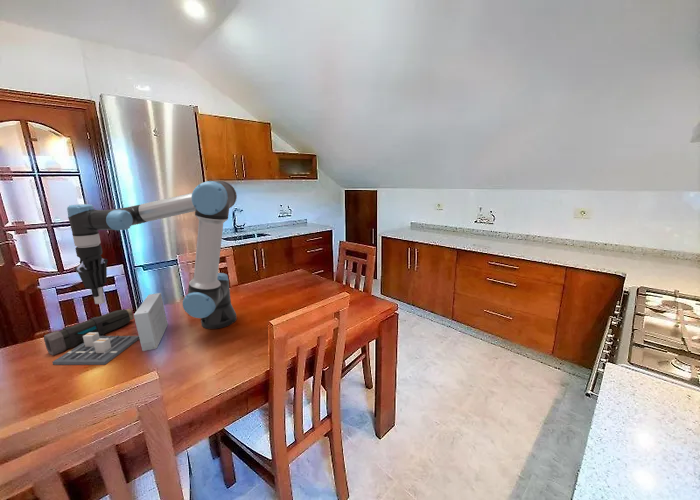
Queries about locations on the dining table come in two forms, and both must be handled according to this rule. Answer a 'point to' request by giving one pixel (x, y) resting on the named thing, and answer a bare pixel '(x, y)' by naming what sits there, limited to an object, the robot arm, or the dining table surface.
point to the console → (90, 357)
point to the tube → (86, 330)
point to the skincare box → (151, 321)
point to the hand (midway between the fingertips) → (100, 303)
